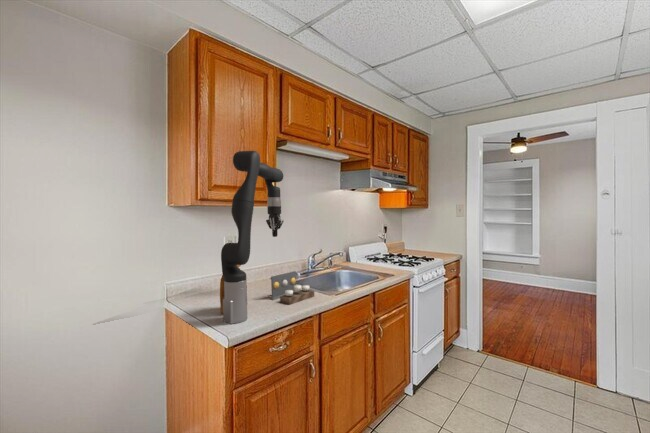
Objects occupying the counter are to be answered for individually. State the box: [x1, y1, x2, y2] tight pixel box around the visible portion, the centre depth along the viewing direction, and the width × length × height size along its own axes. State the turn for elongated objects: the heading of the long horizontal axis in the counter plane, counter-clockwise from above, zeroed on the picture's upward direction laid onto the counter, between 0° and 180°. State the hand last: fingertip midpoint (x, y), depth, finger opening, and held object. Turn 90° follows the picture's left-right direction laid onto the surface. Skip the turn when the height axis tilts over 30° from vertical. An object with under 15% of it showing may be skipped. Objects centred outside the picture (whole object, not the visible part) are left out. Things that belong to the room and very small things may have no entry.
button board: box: [279, 289, 315, 306], centre depth 161 cm, size 18×7×3 cm, turn 139°
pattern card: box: [269, 270, 297, 301], centre depth 168 cm, size 18×3×12 cm, turn 139°
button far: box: [301, 284, 310, 291], centre depth 165 cm, size 4×4×2 cm
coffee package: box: [219, 265, 242, 315], centre depth 144 cm, size 10×12×22 cm
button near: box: [285, 290, 293, 296], centre depth 156 cm, size 4×4×2 cm
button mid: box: [294, 284, 302, 291], centre depth 161 cm, size 4×4×2 cm
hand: (274, 236), depth 172 cm, fingers closed
